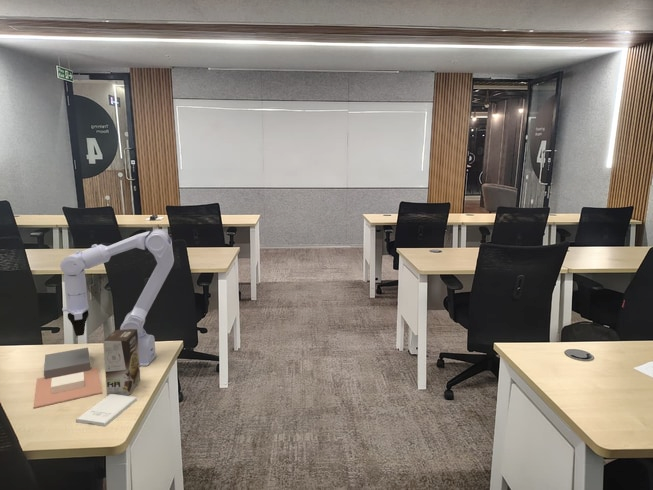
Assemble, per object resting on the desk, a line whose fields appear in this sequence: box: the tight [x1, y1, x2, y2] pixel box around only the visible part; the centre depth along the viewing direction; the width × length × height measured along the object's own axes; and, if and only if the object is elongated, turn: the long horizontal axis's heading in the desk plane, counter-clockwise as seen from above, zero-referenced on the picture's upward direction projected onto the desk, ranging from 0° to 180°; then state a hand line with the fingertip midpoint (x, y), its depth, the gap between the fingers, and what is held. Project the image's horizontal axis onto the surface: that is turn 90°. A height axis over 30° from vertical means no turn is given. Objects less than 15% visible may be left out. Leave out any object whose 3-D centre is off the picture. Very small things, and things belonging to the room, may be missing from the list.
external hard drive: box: [75, 394, 137, 427], centre depth 113 cm, size 2×8×12 cm
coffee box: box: [102, 329, 141, 397], centre depth 123 cm, size 9×6×16 cm
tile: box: [51, 372, 85, 394], centre depth 124 cm, size 6×8×2 cm
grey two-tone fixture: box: [43, 347, 92, 379], centre depth 137 cm, size 13×12×3 cm
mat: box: [32, 366, 103, 409], centre depth 125 cm, size 18×16×1 cm
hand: (79, 334), depth 136 cm, fingers closed
